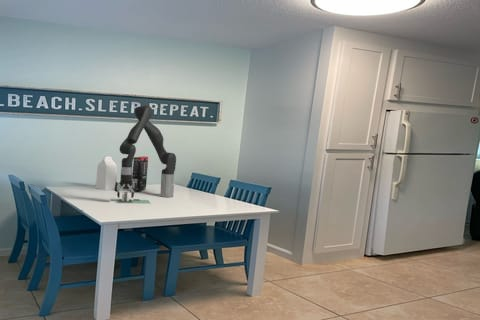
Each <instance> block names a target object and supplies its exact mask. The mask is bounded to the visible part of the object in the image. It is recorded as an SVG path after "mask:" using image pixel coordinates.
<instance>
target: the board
mask: <svg viewBox="0 0 480 320" xmlns="http://www.w3.org/2000/svg"><path fill="white" fill-rule="evenodd" d="M115 202H116V204H142V205H143V204H144V205H145V204H147V205H148V204H151V202H150V200H149V199H139V198H138V199H137V198H134V199H133V198H131V199H130V198H129V201H122V198H118V199H115Z"/></svg>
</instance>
